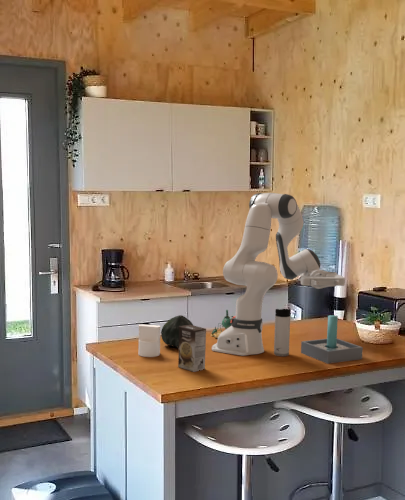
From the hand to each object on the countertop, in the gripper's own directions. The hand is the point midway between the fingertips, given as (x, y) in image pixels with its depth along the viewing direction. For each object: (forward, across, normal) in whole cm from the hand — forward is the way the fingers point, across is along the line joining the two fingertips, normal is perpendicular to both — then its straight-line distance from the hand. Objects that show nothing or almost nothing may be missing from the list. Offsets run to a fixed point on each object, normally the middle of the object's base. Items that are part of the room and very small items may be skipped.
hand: (327, 283), depth 284 cm
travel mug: (+15, -24, +28) cm, 40 cm away
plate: (+18, -4, +28) cm, 34 cm away
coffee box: (+33, -64, +28) cm, 78 cm away
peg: (+18, -4, +27) cm, 33 cm away
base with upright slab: (+12, -80, +28) cm, 85 cm away
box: (+18, -4, +28) cm, 34 cm away
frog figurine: (-14, -43, +28) cm, 54 cm away
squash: (-1, -66, +28) cm, 72 cm away
